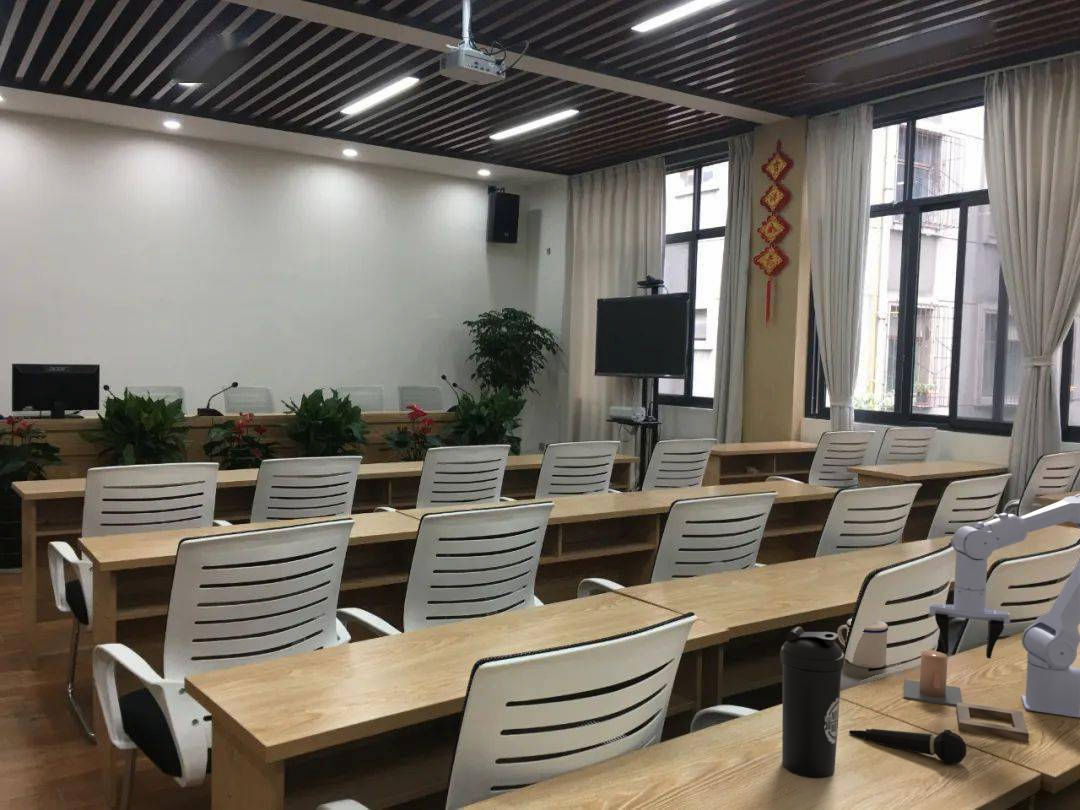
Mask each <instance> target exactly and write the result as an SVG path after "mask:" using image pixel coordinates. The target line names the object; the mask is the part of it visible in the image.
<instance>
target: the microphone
mask: <svg viewBox="0 0 1080 810" xmlns="http://www.w3.org/2000/svg"><path fill="white" fill-rule="evenodd" d="M848 733H849V734H850V735H852V736H855V737H858V738H863V739H865V740H866V741H870V742H871V741H872V743H875V742H876V744H879V743H880V745H883V744H884V745H883V746H887V745H888V747H892V748H896V749H897V748H898V749H902V750H906V751H910V752H915V753H920V754H925V755H928V756H934V755H936V756H937V758H939V760H941V761H942V762H943V764H945V765H952V764H959V763H961V762H962V761H963V759H965V757H966V755H967V743H966V742H965V741H964V739H963V738H962V737H961V735H959V734H958V733H956V732H953V731H952V730H951V729H944V730H943V731H941V732H940V733H938V734H937V735H936V736H935V735H934V734H933V733H923V732H911V731H901V730H899V731H898V730H889V729H878V728H877V729H876V728H870V729H869V728H866V730H860V729H859V730H851V729H850V730H849V731H848Z"/></svg>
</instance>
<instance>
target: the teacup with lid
mask: <svg viewBox="0 0 1080 810" xmlns="http://www.w3.org/2000/svg"><path fill="white" fill-rule="evenodd" d="M851 621H852V617H851V618H849V619H848V620H847V621H846V623H845V624H842V625H840V626H839V627H838V628H837V634H838V640H839V642H840V643H841V644H842V646H844V647H846V646H845V642H847V640H845V638H844V636H843V630H844V629H846V637H847V636H848V632H849V628H850V625H851ZM880 621H881V620H880ZM880 621H876V622H874V623H872V624H871V625H869V626H868V627H866V628H865V629H864V631H863V632H864V633H863V634H862V637H861V638H860V640H859V642H858V644H857V647H856V650H855V653H854V657H853V662H852V664H851V665H853V666H856V667H860V668H865V669H879V668H883V667H885V666H886V664H887V643H888V641H887V640H888V630H889V626H888V624H887V623H886V622H884V621H882V622H880Z"/></svg>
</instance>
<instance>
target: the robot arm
mask: <svg viewBox="0 0 1080 810" xmlns="http://www.w3.org/2000/svg"><path fill="white" fill-rule="evenodd" d="M1066 522H1069V523H1074V524H1075V525H1076V526H1077V527H1078V529H1080V493H1077V494H1075V495H1069V496H1066V497H1063V499H1062V500H1059V501H1057V502H1054V503H1051V504H1048V505H1046V506H1044V507H1041V508H1039V509H1037V510H1034V511H1031V512H1029V513H1027V514H1023V515H1021V516H1018V515H1016V514H1014V513H1006V512H1002V513H999V514H998V517H997V518H994V519H991V520H988V521H985V522H983V521H978V522H976V524H975V526H974V527H973V526H968V525H965V526H961V527H960V528H958V529H957V530H956V531H955V532H954V534H953V536H952V538H950V544H951V547H952V549H954V551H955V564H954V565H955V566H954V568H955V569H954V590H953V604H945V603H944V604H942V603H941V604H939V603H929V612H928V613H929V616H934V618H935V621H936V622H935V623H936V625H937V627H938V629H939V632H940V635H941V638H942V642H943V648H944V649H943V651H944V654H949V650H950V649H949V625H950V622H949V619H950V618H949V617H951V618H959V619H966V620H967V619H969V620H977V621H985V622H986V621H987V642H986V643H987V644H986V651H985V652H986V654H985V657H986V659H992V654H993V650H994V648H995V645H996V643H997V641H998V639H999V637H1000V635H1001V634H1002V633H1003V631H1004V629H1005V625H1010V624H1011V614H1010V612H1008V611H1000V610H996V609H990V608H986V597H987V596H986V595H987V577H988V575H987V572H988V558H989V557H990V556H992V554H993V553H994V551H997V550H1000V549H1004V548H1005V547H1009V546H1012V545H1014V544H1018V543H1021V542H1024V541H1025V540H1026V538H1027V535H1028V534H1029V533H1032V532H1035V531H1038V530H1042V529H1046V528H1049V527H1052V526H1055V525H1059V524H1062V523H1063V524H1064V523H1066ZM1004 624H1005V625H1004ZM1079 625H1080V559H1079V560H1078V561H1077V562H1076V565H1075V567H1074V569H1073V571H1072V572H1071V574H1070V575H1069V577H1068V578H1067V580H1066V582H1065V584H1064V586H1063V587H1062V589H1061V591H1060V593H1059V594H1058V596H1057V598H1056V599H1055V601H1054V603H1053V604H1052V606H1051V608H1050V610H1049V611H1047V612H1046V613H1043V614H1041V615H1039V616H1038V617H1037V618H1036V620H1035V621H1033V623H1032V624H1031V625H1030V626H1028V627H1026V628H1025V630H1024V631H1023V632H1022V635H1021V645H1022V646H1023V648H1024V650H1025V651H1026V652H1027V661H1026V662H1027V663H1026V665H1027V666H1026V683H1025V684H1026V686H1025V687H1026V688H1025V694H1021V700H1022V703H1023V705H1024V708H1025V710H1026V711H1032V712H1037V713H1044V714H1050V715H1051V714H1052V715H1058V716H1063V717H1064V716H1065V717H1072V718H1078V719H1079V718H1080V668H1079V667H1077V666H1071V665H1073V663H1074V662H1075V661H1076V660H1077V657H1078V647H1079V645H1080V631H1079Z"/></svg>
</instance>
